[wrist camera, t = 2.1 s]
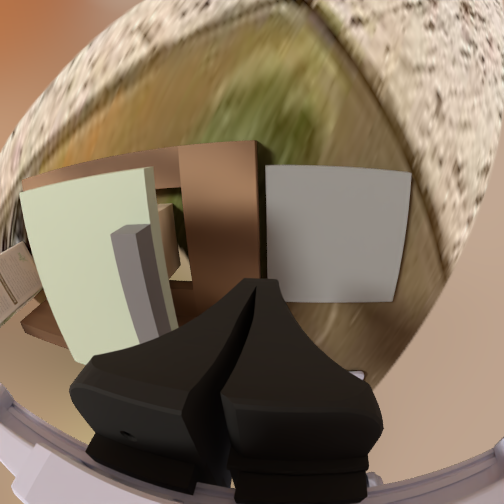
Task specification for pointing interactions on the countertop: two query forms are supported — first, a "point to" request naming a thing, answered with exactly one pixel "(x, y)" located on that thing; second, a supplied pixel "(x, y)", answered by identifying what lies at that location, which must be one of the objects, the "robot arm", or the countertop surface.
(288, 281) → the mat
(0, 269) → the syrup box
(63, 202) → the cover
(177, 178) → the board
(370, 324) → the countertop surface
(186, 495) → the robot arm
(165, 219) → the block
